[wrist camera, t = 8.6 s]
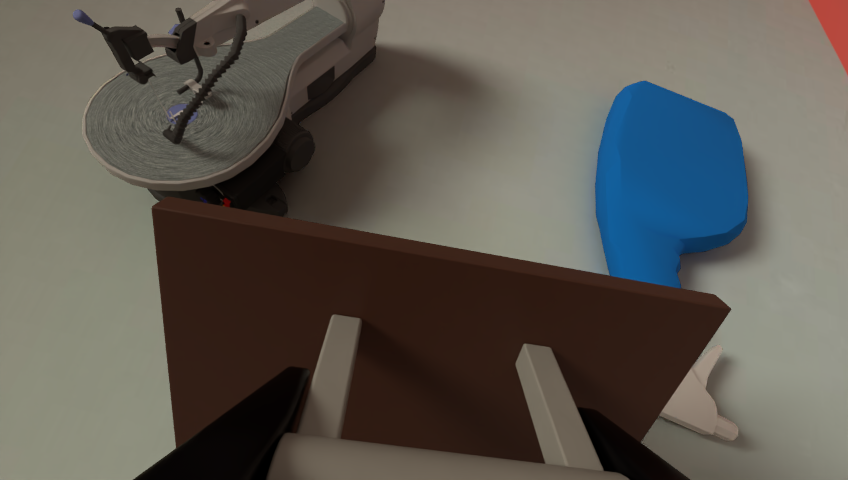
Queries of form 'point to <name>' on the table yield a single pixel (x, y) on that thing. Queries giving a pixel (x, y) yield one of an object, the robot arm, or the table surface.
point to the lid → (414, 347)
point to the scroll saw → (225, 98)
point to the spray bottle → (670, 208)
